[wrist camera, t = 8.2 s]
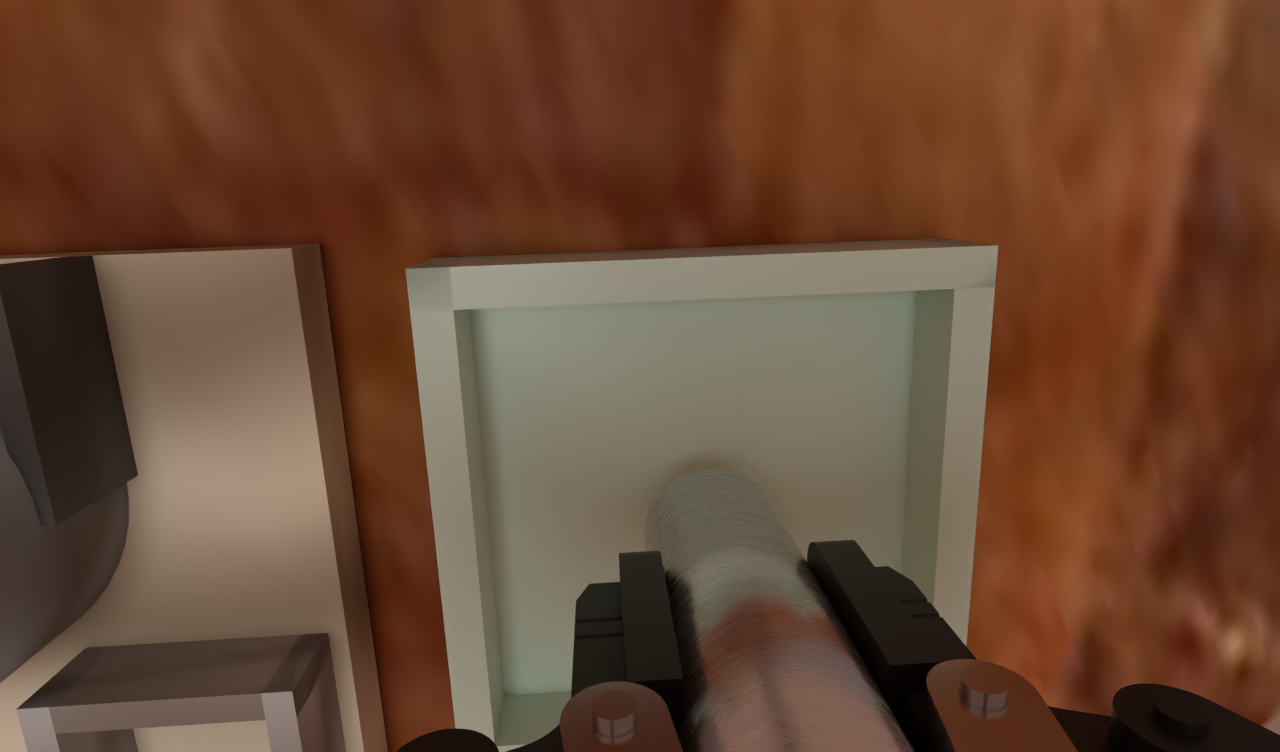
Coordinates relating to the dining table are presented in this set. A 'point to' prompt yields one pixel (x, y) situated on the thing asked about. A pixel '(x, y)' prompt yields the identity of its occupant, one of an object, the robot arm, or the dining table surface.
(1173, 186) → the dining table surface
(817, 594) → the pin
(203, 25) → the dining table surface
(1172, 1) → the dining table surface
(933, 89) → the dining table surface
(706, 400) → the tray
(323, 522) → the pulley board
